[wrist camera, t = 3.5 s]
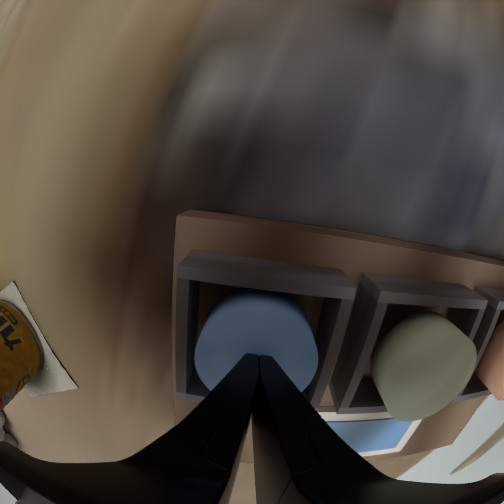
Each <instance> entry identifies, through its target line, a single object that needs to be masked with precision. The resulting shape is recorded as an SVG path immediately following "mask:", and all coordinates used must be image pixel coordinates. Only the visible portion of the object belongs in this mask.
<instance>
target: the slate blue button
mask: <svg viewBox="0 0 504 504" xmlns="http://www.w3.org/2000/svg"><path fill="white" fill-rule="evenodd" d="M245 353H251V354H257V355H258V356H259V355H269V356H272V357H273V358H274V359H275V360H276V362H277V363H278V364H279V365H280V367H281V368H282V369H283V370H284V372H285V373H286V374H287V375H288V377H289V378H290V379H291V380H292V382H293V383H294V384H295V385H296V387H297V388H298V389H299V390H300V391H301V392H302V391H303V390H304V389H305V388H306V387H307V386H308V385H309V383H310V382H311V381H312V379H313V377H314V375H315V373H316V370H317V366H318V351H317V347H316V344H315V341H314V337H313V334H312V331H311V327H310V324H309V321H308V317H307V315H306V313H305V311H304V309H303V308H302V306H301V305H300V304H299V303H298V302H297V300H295V299H294V298H293V297H292V296H290V295H289V294H287V293H285V292H277V291H269V290H261V289H253V288H246V287H241V288H238V289H235V290H233V291H231V292H229V293H227V294H225V295H224V296H222V297H221V298H220V299H219V300H218V301H217V302H216V303H215V304H214V305H213V307H212V308H211V310H210V312H209V314H208V316H207V318H206V321H205V324H204V326H203V329H202V332H201V334H200V337H199V340H198V342H197V345H196V349H195V355H194V359H195V366H196V370H197V373H198V375H199V377H200V379H201V380H202V382H203V383H204V384H205V386H206V387H207V388H208V389H209V390H210V391H211V390H212V389H213V388H214V387H215V386H216V385H217V384H218V383H219V382H220V381H221V380H222V379H223V378H224V376H225V375H226V374H227V373H228V372H229V371H230V370H231V369H232V368H233V367H234V365H235V364H236V363H237V362H238V361H239V360H240V359H241V358H242V357H243V355H244V354H245Z"/></svg>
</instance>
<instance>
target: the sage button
mask: <svg viewBox="0 0 504 504" xmlns="http://www.w3.org/2000/svg"><path fill="white" fill-rule="evenodd" d="M476 358H477V352H476V347H475V345H474V343H473V342H472V341H471V340H470V339H469V338H468V337H467V336H466V335H465V334H464V333H463V332H462V331H460V330H459V329H458V328H457V327H456V326H455V325H454V324H453V323H452V322H450V321H449V320H448V319H447V318H446V317H445V316H444V315H442V314H440V313H438V312H433V311H425V312H420V313H416V314H414V315H411V316H409V317H407V318H405V319H404V320H402V321H401V322H399V323H398V324H397V325H395V326H394V327H393V328H392V329H391V330H390V331H389V332H388V333H387V334H386V335H385V336H384V337H383V339H382V340H381V341H380V343H379V344H378V346H377V348H376V350H375V352H374V354H373V357H372V361H371V370H370V371H371V376H372V379H373V381H374V383H375V385H376V387H377V389H378V391H379V394H380V396H381V398H382V400H383V402H384V404H385V406H386V408H387V410H388V412H389V414H390V415H391V416H392V417H393V418H394V419H396V420H399V421H403V422H411V421H417V420H421V419H424V418H426V417H429V416H431V415H433V414H435V413H437V412H438V411H440V410H441V409H443V408H444V407H446V406H447V405H448V404H449V403H450V402H452V401H453V400H454V399H455V398H456V397H457V396H458V394H459V393H460V392H461V391H462V390H463V388H464V387H465V386H466V384H467V383H468V381H469V379H470V377H471V375H472V373H473V370H474V368H475V364H476Z"/></svg>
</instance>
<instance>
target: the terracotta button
mask: <svg viewBox="0 0 504 504" xmlns="http://www.w3.org/2000/svg"><path fill="white" fill-rule="evenodd" d="M476 374H477V377H478V378H479V379H480V380H481V381H482V382H483V384H484V385H485V386H486V387H487V388H488V389H489V391H490V392H491V393H492V394H493V395H494V396H495V398H496V399H497V400H504V320H503V321H502V322H501V323H500V324H499V325H498V326H497V327H496V328H495V330H494V331H493V332H492V334H491V337H490V339H489V341H488V344H487V346H486V348H485V350H484V352H483V355H482V357H481V359H480V361H479V363H478V365H477V367H476Z"/></svg>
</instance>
